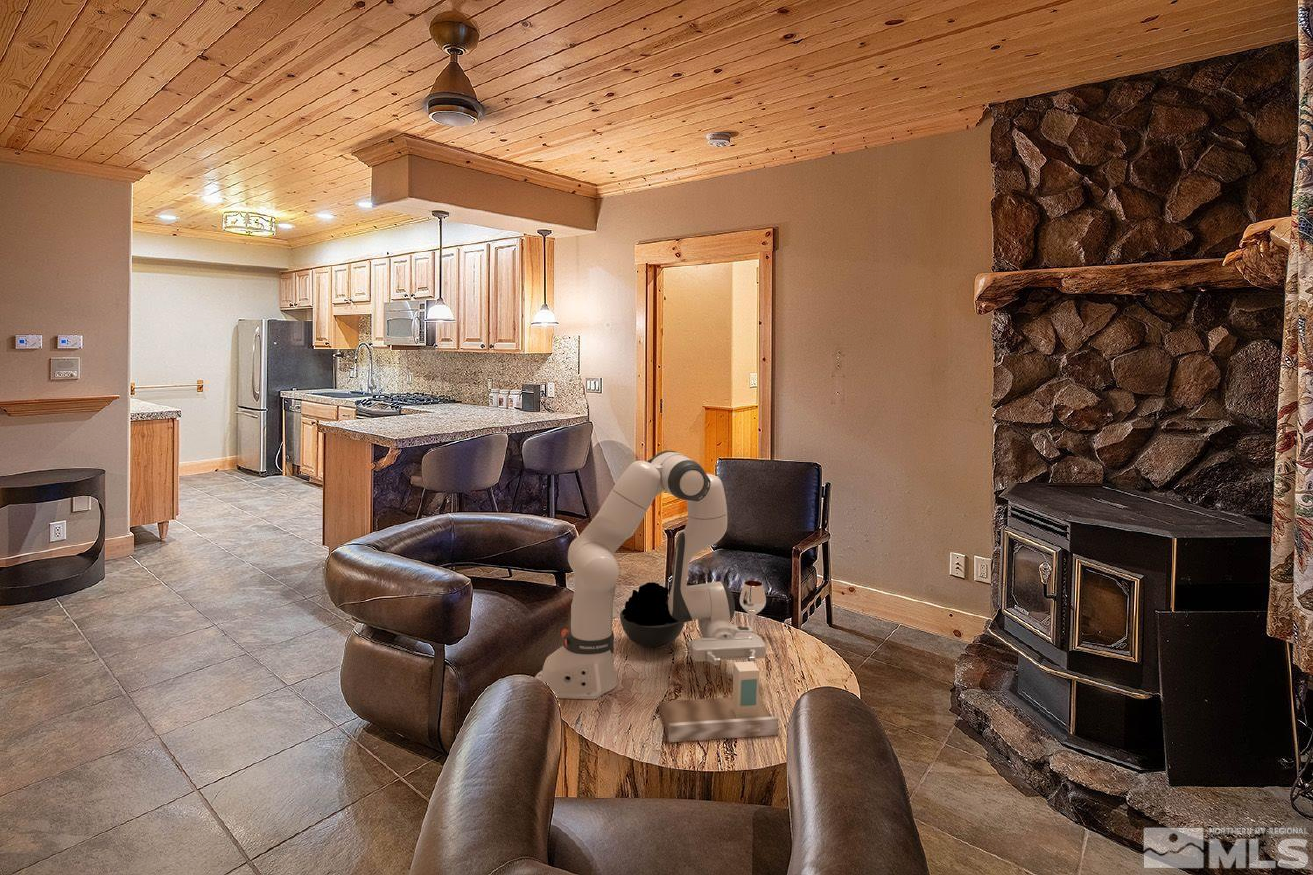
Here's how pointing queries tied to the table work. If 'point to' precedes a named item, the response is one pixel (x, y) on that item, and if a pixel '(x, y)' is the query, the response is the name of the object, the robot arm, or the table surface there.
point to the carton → (745, 690)
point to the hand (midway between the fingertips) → (735, 661)
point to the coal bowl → (650, 617)
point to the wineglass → (752, 598)
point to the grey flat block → (713, 720)
